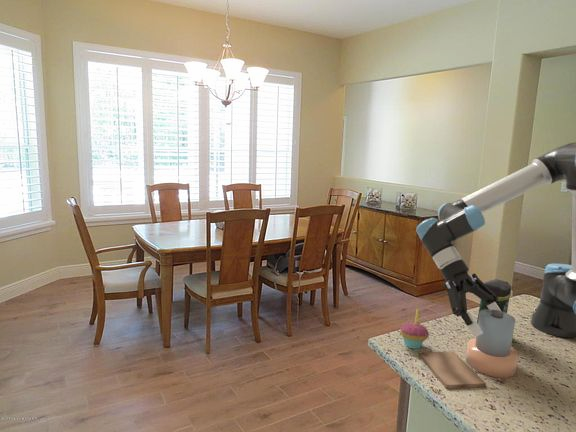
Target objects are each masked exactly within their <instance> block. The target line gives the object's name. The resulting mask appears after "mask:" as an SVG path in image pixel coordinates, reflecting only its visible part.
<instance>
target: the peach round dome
mask: <svg viewBox="0 0 576 432" xmlns="http://www.w3.org/2000/svg"><path fill="white" fill-rule="evenodd" d="M475 342H476V337H474V338H470V339H469V340H468V341H467V348H466V354H465V363H466V364H467V365H468V366H469V367H470V368H471V369H472V370H475V371H476V372H479V373H481V374H483V375H486V376H488V377H489V376H490V377H493V378H504V379H505V378H512V377H513V376H514V375H516V373H517V372H516V371H517V366H518V360H519V353H518V351H517V350H516V349H515V348H514V347H513V346H511V351H510V355H509V356H506V357H496V356H491V355H488V354H485V353H483V352H481V351H480V350H478V349H477V348H476V346H475Z"/></svg>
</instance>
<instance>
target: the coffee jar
mask: <svg viewBox="0 0 576 432" xmlns="http://www.w3.org/2000/svg"><path fill="white" fill-rule="evenodd" d="M483 283H484V284H485V285H486V286H487V287H488V288H489V289H490V290H491V291H493V292H494V293H495V294H496V295H497V297H498V300H497V301H495V302H496V303H497V305H498V306H499V308H500V309H501V311H502V312H505V313H507V314H508V308H509V303H510V297H511V294H512V286H511V284H510V283H509V282H508V281H504V280H501V279H499V278H495V279H491V280H490V279H489V281H486V282H483ZM488 305H489V304H487V303H486V302H484V301H483V300H481V299H480V302H479V308H478V315H477V320H476V322H477V324H478V320H479V313H480V311H481V310H487V309H489V308H488V307H487V306H488Z"/></svg>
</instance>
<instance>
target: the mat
mask: <svg viewBox="0 0 576 432" xmlns="http://www.w3.org/2000/svg"><path fill="white" fill-rule="evenodd" d="M418 357H419V358H420V359H421V360H422V361H423V363H424V364H425V365H426V366H427V368H428V369H429V370H430V372H432V373H433V375H434V377H436V378H437V379H438V380H439V382H440V383H441V384H442V385H443V386H444V388H445V389H463V388H482V387H483V388H486V385H487V383H486V382H485V380H483V379H482V378H481V376H479V375H478V374H477V373H476V372H475V371H474V369H473V368H472V367H470V366H469V365H468V363H467V362H466V361H465V360H463V359H462V358H461V357H460V356H459V355H458V354H457V353H456V352H455V351H429V352H427V351H425V352H423V351H422V352H418Z"/></svg>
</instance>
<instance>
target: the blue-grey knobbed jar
mask: <svg viewBox="0 0 576 432" xmlns="http://www.w3.org/2000/svg"><path fill="white" fill-rule="evenodd" d="M478 313H479V312H478ZM478 325H479V327H480V328H481V330H482V332H483V334H481V335H479V336H476V337H475V338H476V342H475V346H476V348H477V349H478V350H480V351H481V352H483V353H485V354H488V355H491V356H496V357H506V356H509V355H510V351H511V347H512V345H513V337H514V331H515V325H516V318H515V316H513V315H511V314H509V313H508V312H507V313H505V312H502V311H499V310H489V309H487V310H481V311H480V313H479V320H478Z"/></svg>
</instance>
